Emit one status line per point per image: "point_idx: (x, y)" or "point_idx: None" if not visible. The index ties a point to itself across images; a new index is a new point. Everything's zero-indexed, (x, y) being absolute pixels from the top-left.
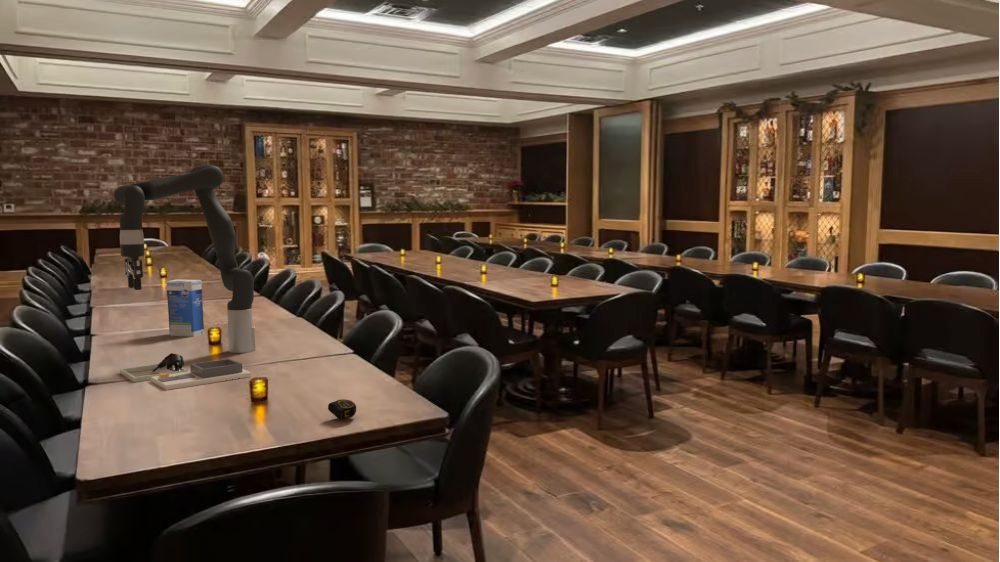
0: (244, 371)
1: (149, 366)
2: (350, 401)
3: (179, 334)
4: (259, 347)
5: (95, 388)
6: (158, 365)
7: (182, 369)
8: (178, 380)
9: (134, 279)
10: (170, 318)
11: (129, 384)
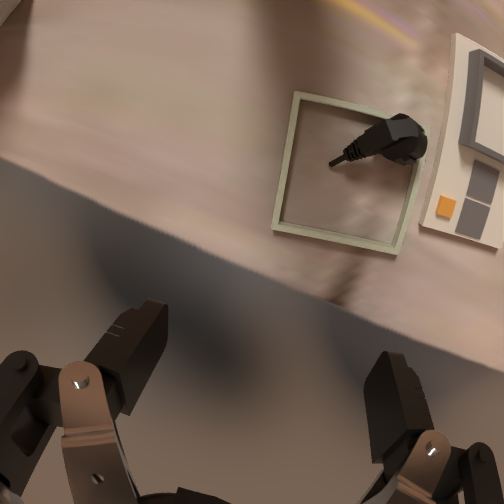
0: None
1: (290, 155)
2: None
3: (8, 9)
4: None
5: (372, 318)
6: (350, 160)
7: None
8: (493, 210)
9: (386, 461)
10: None
11: (403, 265)
